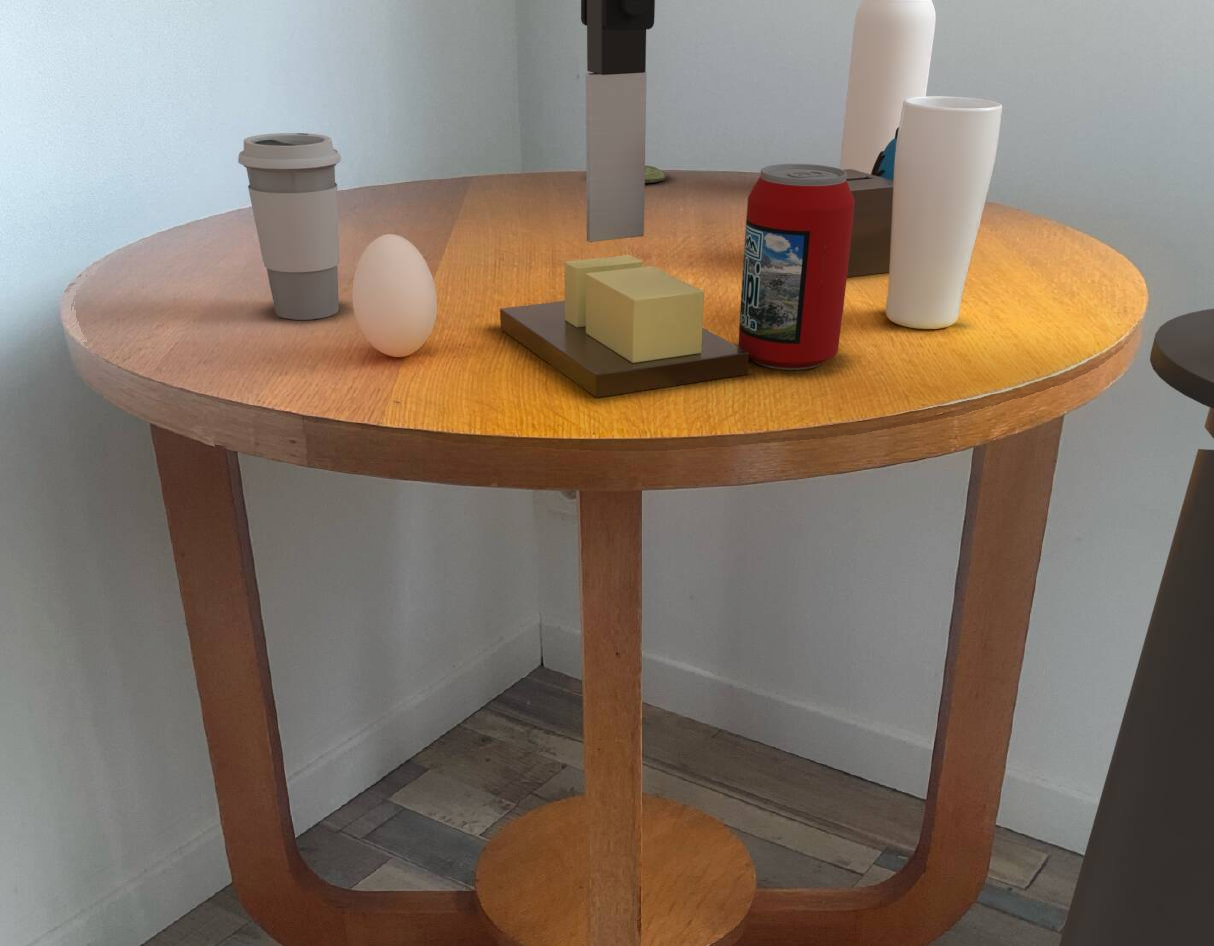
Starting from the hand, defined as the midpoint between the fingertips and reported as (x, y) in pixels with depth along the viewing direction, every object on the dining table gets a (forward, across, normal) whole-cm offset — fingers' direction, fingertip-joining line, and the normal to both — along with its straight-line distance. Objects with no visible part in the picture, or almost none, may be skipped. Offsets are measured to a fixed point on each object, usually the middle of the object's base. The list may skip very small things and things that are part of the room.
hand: (617, 24), depth 73 cm
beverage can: (+20, -7, -10) cm, 23 cm away
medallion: (+20, +56, -30) cm, 66 cm away
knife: (+13, 0, 0) cm, 13 cm away
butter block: (+18, -4, 0) cm, 19 cm away
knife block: (+20, +13, -28) cm, 37 cm away
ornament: (+20, +18, -37) cm, 46 cm away
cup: (+20, +17, +17) cm, 31 cm away
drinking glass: (+20, -4, -24) cm, 31 cm away
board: (+20, -1, 0) cm, 20 cm away
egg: (+20, +4, +14) cm, 25 cm away
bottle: (+20, +37, -50) cm, 66 cm away
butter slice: (+18, +2, 0) cm, 19 cm away
